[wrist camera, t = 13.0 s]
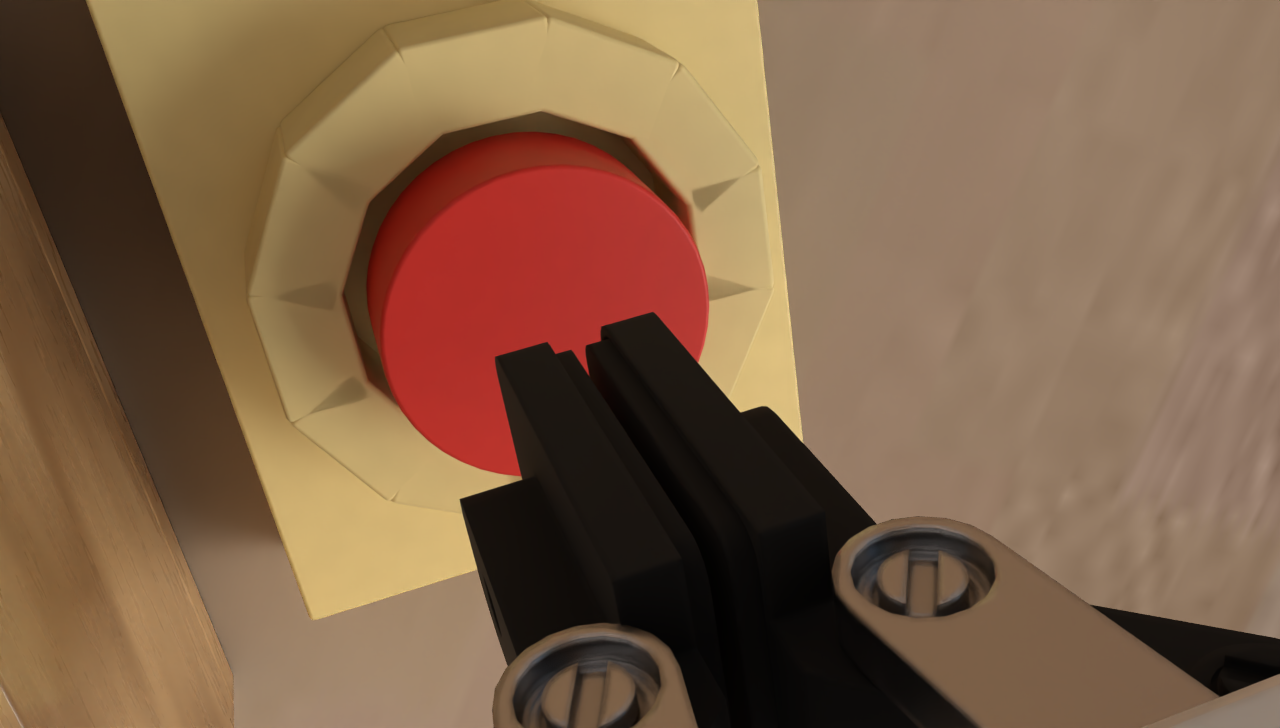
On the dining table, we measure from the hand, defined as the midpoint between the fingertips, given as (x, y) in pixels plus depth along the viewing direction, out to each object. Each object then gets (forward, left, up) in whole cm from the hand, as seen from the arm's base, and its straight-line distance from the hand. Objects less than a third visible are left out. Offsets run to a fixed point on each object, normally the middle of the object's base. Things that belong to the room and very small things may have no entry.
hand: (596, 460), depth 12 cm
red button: (0, 0, -5) cm, 5 cm away
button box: (0, 0, -9) cm, 9 cm away
